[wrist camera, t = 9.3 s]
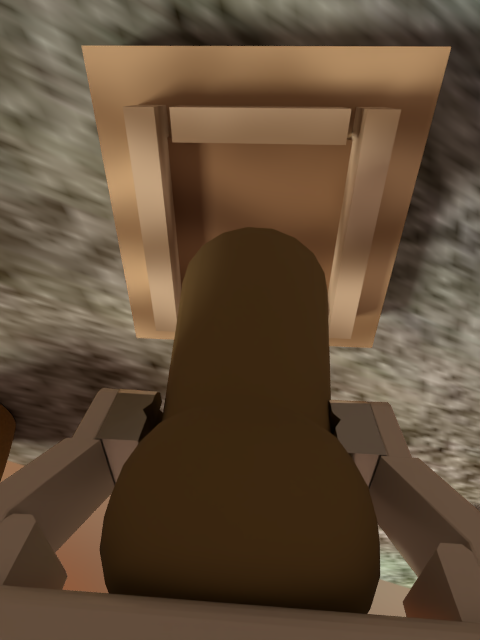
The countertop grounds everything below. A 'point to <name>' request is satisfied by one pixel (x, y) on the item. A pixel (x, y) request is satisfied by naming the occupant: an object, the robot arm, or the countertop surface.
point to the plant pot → (5, 436)
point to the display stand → (263, 161)
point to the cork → (246, 448)
